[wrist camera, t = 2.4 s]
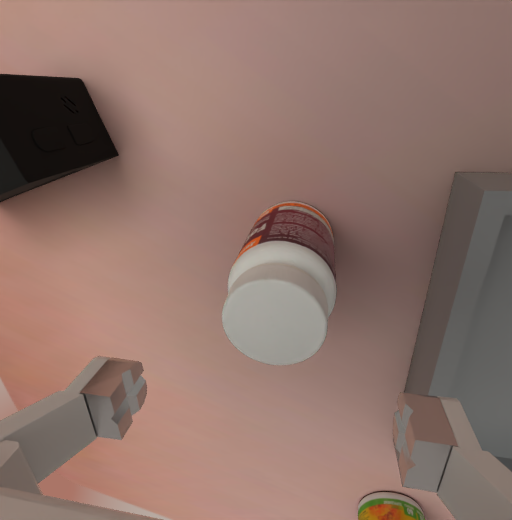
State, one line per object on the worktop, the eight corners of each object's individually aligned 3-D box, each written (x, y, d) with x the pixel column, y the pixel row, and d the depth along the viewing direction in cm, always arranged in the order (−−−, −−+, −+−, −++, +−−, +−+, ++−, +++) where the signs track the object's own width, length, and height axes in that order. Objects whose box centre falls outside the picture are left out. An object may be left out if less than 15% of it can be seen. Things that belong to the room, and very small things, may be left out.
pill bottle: (260, 191, 19) (219, 255, 12) (344, 210, 19) (356, 289, 11) (246, 263, 21) (204, 356, 14) (321, 282, 21) (318, 387, 14)
